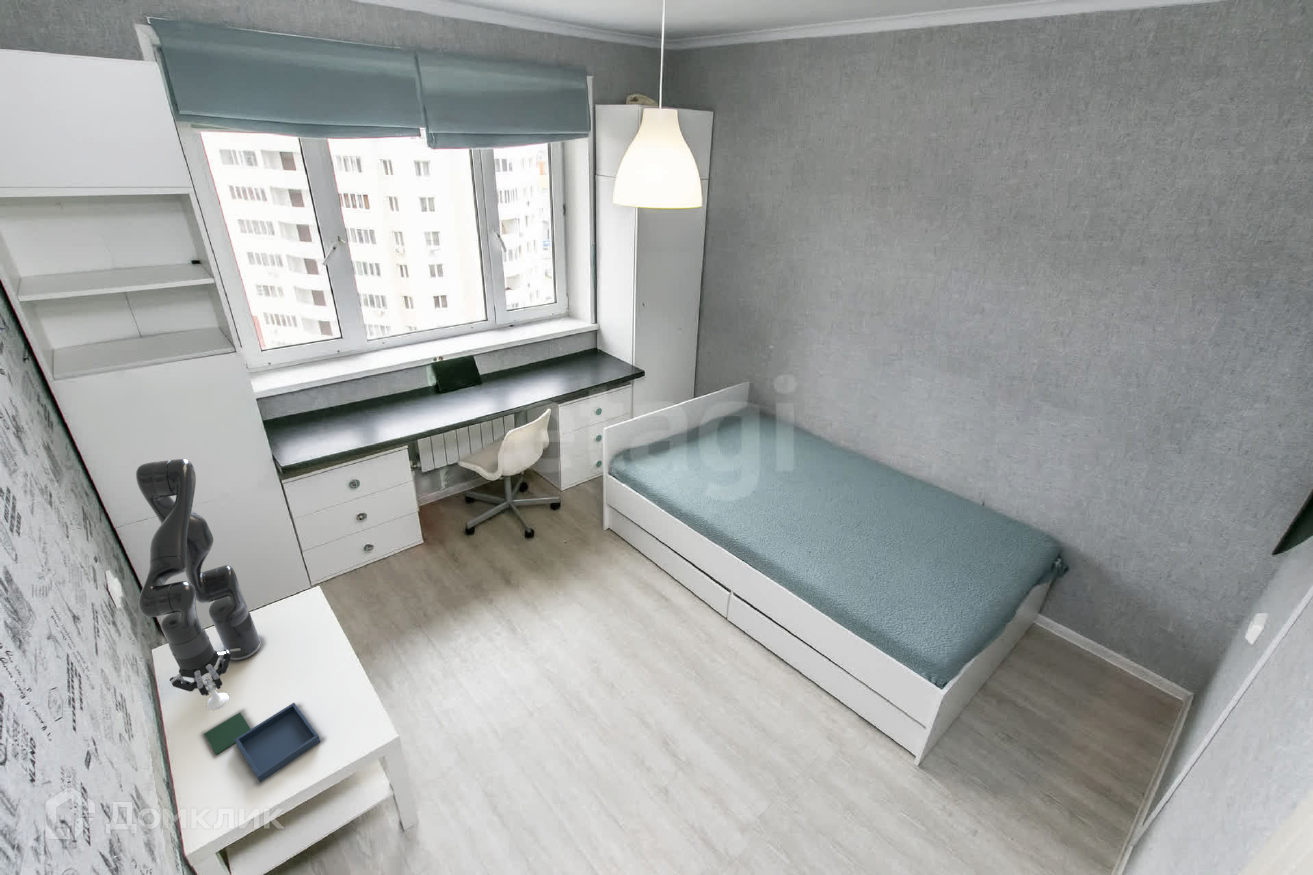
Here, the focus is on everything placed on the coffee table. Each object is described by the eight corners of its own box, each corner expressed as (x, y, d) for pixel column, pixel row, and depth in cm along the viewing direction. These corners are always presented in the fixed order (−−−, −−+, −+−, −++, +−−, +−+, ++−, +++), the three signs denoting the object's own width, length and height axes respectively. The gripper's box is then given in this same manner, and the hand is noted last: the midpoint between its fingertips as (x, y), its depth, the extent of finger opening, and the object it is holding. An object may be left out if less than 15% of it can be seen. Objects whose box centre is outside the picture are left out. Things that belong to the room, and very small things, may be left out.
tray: (236, 744, 164) (234, 739, 163) (296, 707, 175) (294, 702, 174) (259, 782, 156) (257, 777, 155) (320, 741, 167) (318, 735, 166)
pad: (204, 734, 166) (203, 733, 166) (240, 712, 172) (239, 712, 172) (216, 755, 161) (216, 754, 161) (252, 732, 168) (252, 731, 167)
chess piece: (218, 711, 158) (206, 687, 153) (202, 707, 158) (190, 683, 153) (233, 696, 162) (222, 672, 157) (217, 692, 162) (206, 668, 157)
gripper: (216, 622, 155) (235, 666, 164) (152, 654, 146) (176, 698, 155) (228, 637, 152) (246, 681, 160) (162, 671, 142) (186, 716, 151)
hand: (212, 689), depth 157 cm, fingers closed on chess piece
